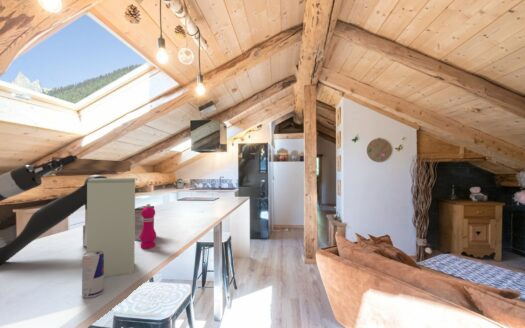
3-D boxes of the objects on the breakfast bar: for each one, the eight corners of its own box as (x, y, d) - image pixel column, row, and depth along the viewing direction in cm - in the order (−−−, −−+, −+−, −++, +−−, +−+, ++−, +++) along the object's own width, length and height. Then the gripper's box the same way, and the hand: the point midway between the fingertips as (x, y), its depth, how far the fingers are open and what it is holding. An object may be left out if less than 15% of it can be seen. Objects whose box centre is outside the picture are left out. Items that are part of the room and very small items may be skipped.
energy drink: (107, 291, 79) (108, 251, 79) (91, 299, 74) (91, 257, 74) (94, 288, 80) (95, 249, 80) (77, 296, 75) (77, 255, 75)
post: (86, 279, 87) (87, 179, 87) (92, 268, 96) (92, 178, 96) (133, 272, 92) (133, 179, 92) (134, 262, 101) (135, 177, 102)
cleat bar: (51, 167, 85) (52, 156, 85) (55, 167, 89) (55, 157, 89) (129, 171, 94) (130, 161, 94) (130, 171, 97) (130, 161, 97)
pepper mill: (159, 244, 125) (159, 202, 125) (151, 249, 118) (151, 205, 118) (144, 244, 125) (145, 202, 126) (136, 248, 118) (136, 204, 118)
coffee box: (142, 235, 141) (142, 205, 141) (154, 235, 141) (154, 205, 141) (133, 240, 132) (134, 208, 132) (146, 240, 132) (146, 208, 132)
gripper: (34, 189, 91) (86, 167, 97) (13, 193, 78) (75, 167, 83) (22, 170, 89) (75, 149, 95) (-1, 171, 76) (62, 146, 82)
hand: (75, 157), depth 89 cm, fingers closed on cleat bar, 3 cm apart
